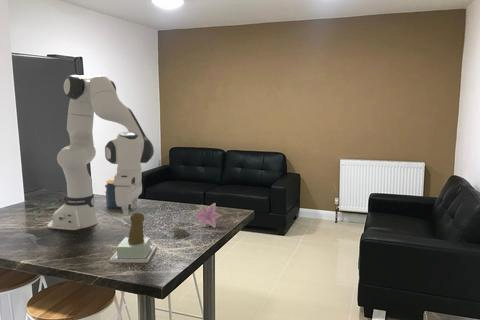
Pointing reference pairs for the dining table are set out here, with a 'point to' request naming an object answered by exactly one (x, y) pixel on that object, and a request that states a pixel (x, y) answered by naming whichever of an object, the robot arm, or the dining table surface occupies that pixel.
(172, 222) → the dining table surface
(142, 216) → the cork
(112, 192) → the canister
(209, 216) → the lily
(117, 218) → the dining table surface
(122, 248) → the butter dish
